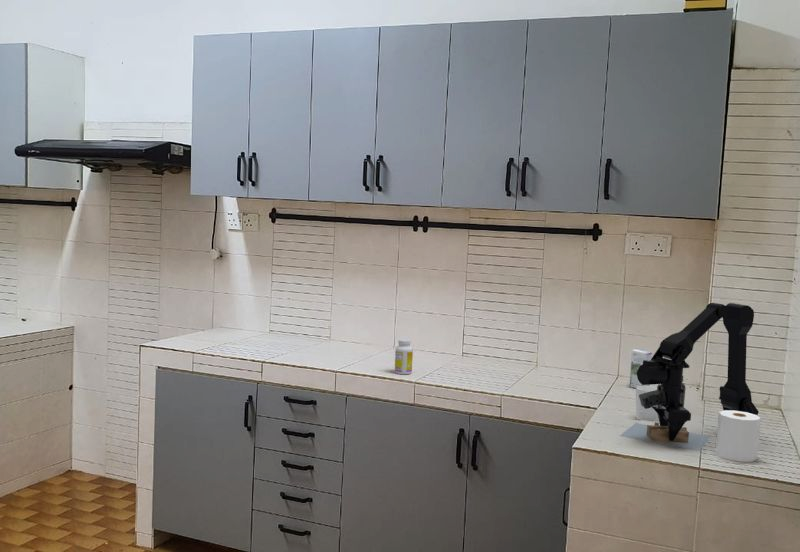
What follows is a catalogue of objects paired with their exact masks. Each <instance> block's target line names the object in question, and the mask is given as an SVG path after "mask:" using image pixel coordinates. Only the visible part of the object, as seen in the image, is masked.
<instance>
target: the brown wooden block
mask: <svg viewBox="0 0 800 552" xmlns="http://www.w3.org/2000/svg"><path fill="white" fill-rule="evenodd" d="M646 425H647V436H648V437H649V438H650V439H651V440H652V441H661V442H681V443H688V438H689V432H690V431H688V430H687V431H686V430H685V429H684V428H683V427H684V426H682V428H681V429H680V431H679V433H678V434H677V436H676V437H675V439H674V441H670V440H669V431H668V426H660V425H659V426H658V425H655V424H646Z"/></svg>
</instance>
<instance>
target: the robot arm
mask: <svg viewBox="0 0 800 552" xmlns="http://www.w3.org/2000/svg"><path fill="white" fill-rule="evenodd" d="M754 318H755V311H754V309H753V308H752V307H751V306H750V305H746V304H741V303H734V302H733V303H732V302H729V303H727V304H723V303H717V302H710V303H707V305H706V307H705V308H704V309H703V310H702V311H701V312H700V313H699V314H698V315H697V316H696V317H695V318H694V319H692V320H691V321H690V322H689V323H688V324H687V325H686V326H685V327H684V328H682V329H681V330H680V331H679V332H676V333H672V334H670V335H669V336H667V337H666V338H664V339H662V341H661V342H660V344H659V347H658V348H657V349H656V351H655V353H654V354H652V358H651V361H648V360H643V365H641V366H640V367H639V368H638V370H637V378H638V380H639V382H640V383H641V384H642V385H650V386H652V385H657V386H656V387H657V390H655V391H650V392H647V393H643V394H640V395H639V398H640V402H641V405H642V406H643V407H644V408H645V409H648V408H651V407H652V408H653V409H654V410H655V411H656V413H657V414H658V423H659V426H668V431H669V440H670V441H674V439H675V437H676V436H677V434H678V433H679V431H680V429H681V428H682V427H684V425H685V424H686V422H690V421H691V420H692V413H691V412H690V411H689V410H688V409H687V408H685V406H684V407H683V403H682V402H681V393H684V389H683V388H682V383H683V382H682V377H683V378H684V369H689V368H690V365H689V363H688V362H686V359H687V358H688V357H689V356H690V354H691V353H692V351H693V350H694V345H695V344H696V342H697V341H698V340H699V339H701V337H703V335H705V333H706V332H707V333H708V331H709V330H710V329H711V328H712V327H713V326H714V325H716V323H718V322H719V321H720V320H721V319H722V322H723V326H724V328H725V329H726V332H727V334H728V341H727V342H728V346H727V348H728V349H727V381H726V382H725V384H723V386H722V385H721V386H720V387H719V397H718V399H719V400H720V404H721V406H722V411H723V410H735V411H741V412H748V413H751V414H754V415H757V416H758V415H759V410H758V409H757V407H756V405H755V404H754V403H753V400H752V392H751V390H750V388H749V386H748V384H747V381H746V378H747V376H746V375H747V337H748V334H749V332H750V330H751V329H752V328H753V325H754Z"/></svg>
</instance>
